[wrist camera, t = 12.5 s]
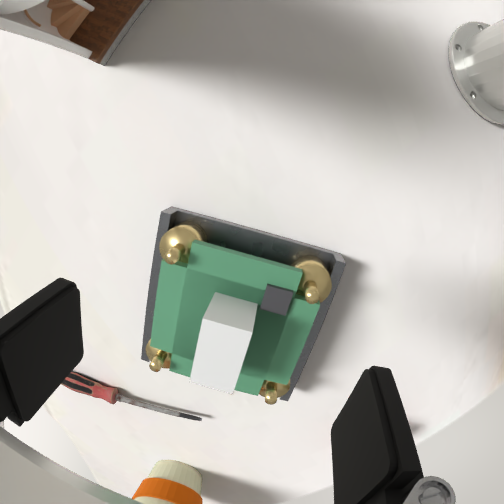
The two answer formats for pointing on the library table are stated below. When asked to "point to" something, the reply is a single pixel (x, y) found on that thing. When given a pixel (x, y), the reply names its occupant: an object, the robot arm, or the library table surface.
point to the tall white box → (73, 23)
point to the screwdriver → (112, 394)
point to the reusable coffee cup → (170, 484)
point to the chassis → (253, 243)
